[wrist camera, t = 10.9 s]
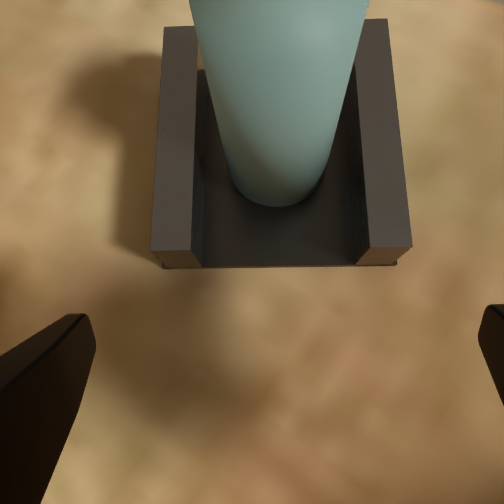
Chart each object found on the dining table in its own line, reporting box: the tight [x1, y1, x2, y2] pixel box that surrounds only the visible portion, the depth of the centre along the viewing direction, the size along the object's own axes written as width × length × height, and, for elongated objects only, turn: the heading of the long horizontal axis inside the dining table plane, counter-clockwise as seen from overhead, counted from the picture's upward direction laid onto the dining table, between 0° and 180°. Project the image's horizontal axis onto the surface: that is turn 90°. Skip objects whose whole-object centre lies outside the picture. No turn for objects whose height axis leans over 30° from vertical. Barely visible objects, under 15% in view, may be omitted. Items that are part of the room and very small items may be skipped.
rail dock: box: [150, 19, 413, 269], centre depth 18 cm, size 10×10×3 cm
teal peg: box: [189, 0, 369, 207], centre depth 14 cm, size 4×4×9 cm
